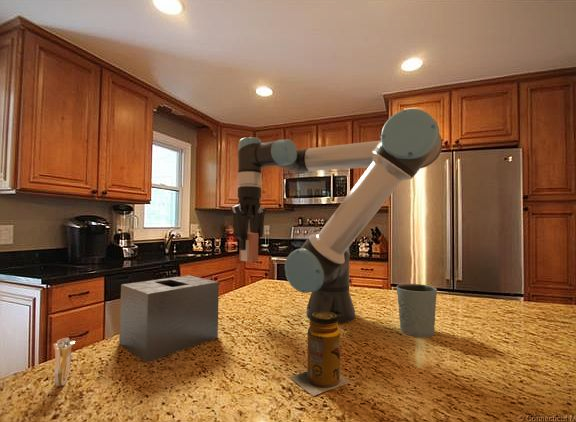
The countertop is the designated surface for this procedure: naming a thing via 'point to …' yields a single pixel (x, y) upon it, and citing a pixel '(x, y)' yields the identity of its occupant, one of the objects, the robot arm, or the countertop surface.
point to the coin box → (168, 315)
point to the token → (252, 247)
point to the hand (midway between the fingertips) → (248, 260)
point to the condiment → (322, 355)
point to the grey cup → (417, 309)
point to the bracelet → (62, 371)
